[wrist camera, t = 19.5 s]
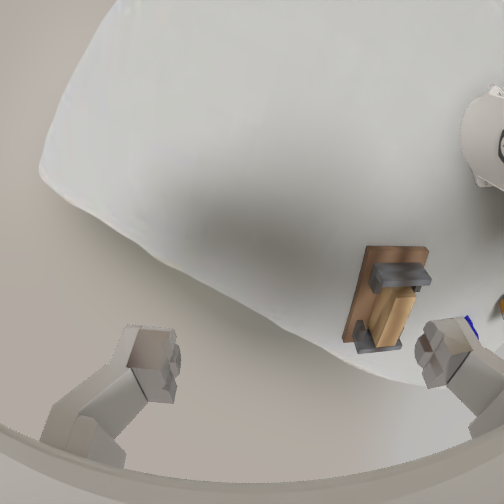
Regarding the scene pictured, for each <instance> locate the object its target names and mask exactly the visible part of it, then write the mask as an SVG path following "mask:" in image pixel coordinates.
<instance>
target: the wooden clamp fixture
mask: <svg viewBox="0 0 504 504" xmlns="http://www.w3.org/2000/svg"><path fill="white" fill-rule="evenodd" d="M428 253H429V251H428V249H427V248H426V247H406V246H366V251H365V255H364V259H363V263H362V268H361V272H360V276H359V280H358V283H357V287H356V291H355V295H354V298H353V302H352V306H351V309H350V313H349V316H348V319H347V323H346V326H345V329H344V333H343V336H342V339H343V343H347V342H354V343H355V346H356V350H357V353H358V354H362V353H372V352H382V351H391V350H399V349H401V347H402V343H401V341H400V339H399V338H398V340H397V342H396V344H395V346H386V347H376V346H375V343H374V340H373V337H372V335H371V332H370V329H369V327H368V323H369V320H370V317H371V314H372V311H373V308H374V306H375V303H376V300H377V297H378V294H380V291H381V288H382V287H404V286H410V287H411V288H412V290H413V292H420V289H421V287H422V286H425V285H430V283H431V280H432V279H431V277H430V276H429V275H428V273H427V272H426V270H425V269H424V265H425V262H426V259H427V256H428ZM403 329H404V327H403ZM403 329H402V331H403ZM402 331H401V333H402ZM400 335H401V334H400ZM399 337H400V336H399Z"/></svg>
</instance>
